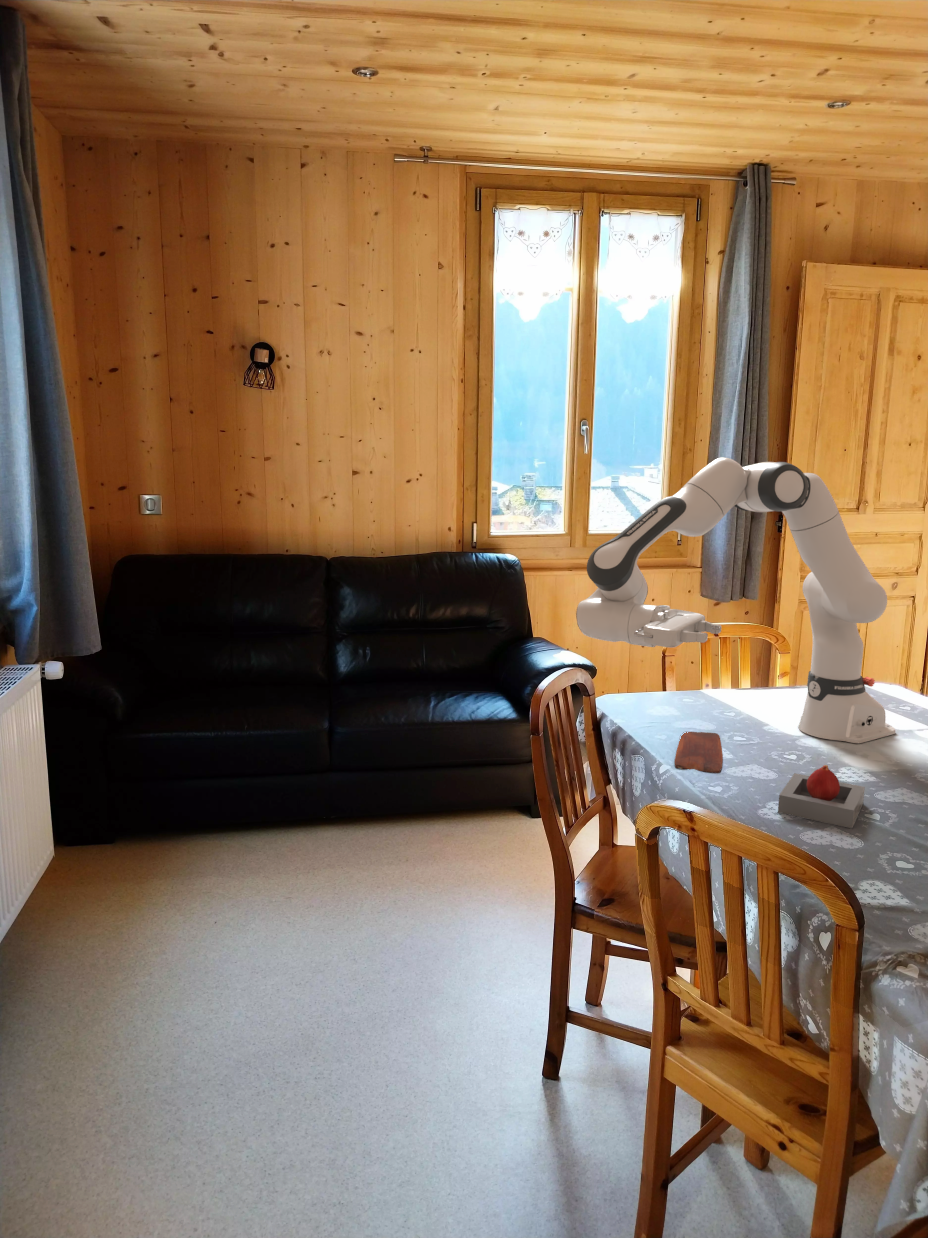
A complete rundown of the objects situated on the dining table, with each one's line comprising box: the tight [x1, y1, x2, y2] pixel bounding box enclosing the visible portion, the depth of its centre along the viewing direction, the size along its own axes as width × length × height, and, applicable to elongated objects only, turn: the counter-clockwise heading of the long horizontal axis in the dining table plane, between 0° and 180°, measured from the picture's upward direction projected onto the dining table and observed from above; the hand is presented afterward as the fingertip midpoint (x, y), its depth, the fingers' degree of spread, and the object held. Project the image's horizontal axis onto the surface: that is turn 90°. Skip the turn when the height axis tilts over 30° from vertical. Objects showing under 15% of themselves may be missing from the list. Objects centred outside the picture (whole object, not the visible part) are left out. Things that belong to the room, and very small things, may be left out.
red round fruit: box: [807, 764, 840, 801], centre depth 167 cm, size 6×6×8 cm
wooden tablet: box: [673, 731, 724, 774], centre depth 199 cm, size 27×10×2 cm, turn 163°
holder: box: [777, 772, 866, 829], centre depth 168 cm, size 13×13×4 cm
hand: (713, 633), depth 180 cm, fingers open, 8 cm apart
